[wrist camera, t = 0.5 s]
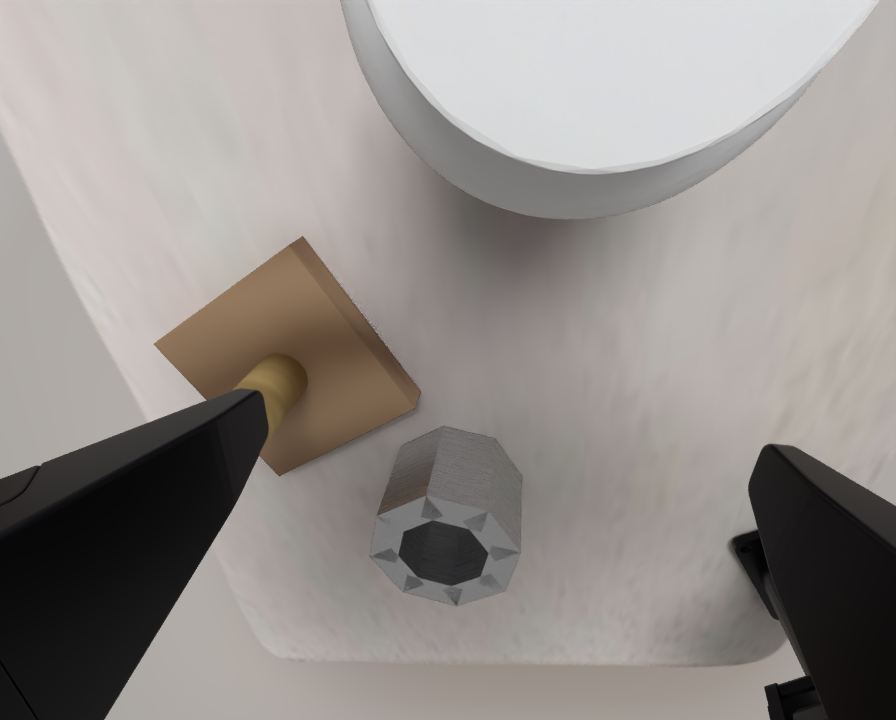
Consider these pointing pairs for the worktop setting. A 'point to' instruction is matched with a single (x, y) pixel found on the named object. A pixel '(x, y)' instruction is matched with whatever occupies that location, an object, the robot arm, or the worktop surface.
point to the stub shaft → (294, 357)
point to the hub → (450, 518)
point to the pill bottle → (590, 89)
